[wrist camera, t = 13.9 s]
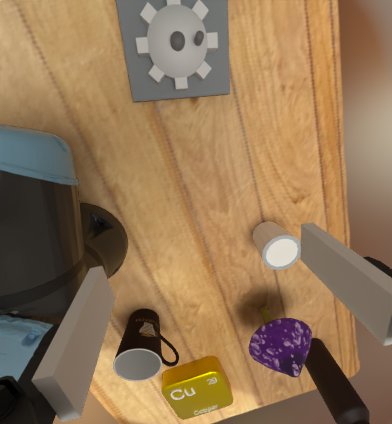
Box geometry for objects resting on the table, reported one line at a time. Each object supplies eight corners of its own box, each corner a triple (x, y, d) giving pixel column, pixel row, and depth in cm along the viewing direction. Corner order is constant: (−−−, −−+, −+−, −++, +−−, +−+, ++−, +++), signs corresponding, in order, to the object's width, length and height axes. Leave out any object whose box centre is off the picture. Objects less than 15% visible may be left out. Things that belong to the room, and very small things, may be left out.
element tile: (180, 402, 62) (181, 424, 58) (159, 370, 57) (158, 392, 52) (231, 386, 62) (236, 406, 57) (215, 352, 56) (219, 372, 52)
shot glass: (263, 211, 42) (280, 228, 36) (290, 228, 44) (310, 246, 38) (242, 239, 44) (254, 260, 38) (268, 254, 46) (284, 276, 40)
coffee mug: (115, 319, 49) (102, 366, 39) (145, 298, 47) (138, 341, 38) (152, 346, 53) (148, 394, 43) (180, 327, 51) (182, 372, 42)
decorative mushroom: (294, 316, 53) (336, 384, 40) (244, 334, 54) (269, 407, 40) (283, 277, 49) (327, 340, 35) (229, 297, 49) (251, 366, 35)
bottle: (308, 334, 56) (375, 438, 38) (328, 342, 58) (400, 445, 40) (292, 352, 58) (347, 459, 40) (311, 358, 60) (372, 464, 42)
